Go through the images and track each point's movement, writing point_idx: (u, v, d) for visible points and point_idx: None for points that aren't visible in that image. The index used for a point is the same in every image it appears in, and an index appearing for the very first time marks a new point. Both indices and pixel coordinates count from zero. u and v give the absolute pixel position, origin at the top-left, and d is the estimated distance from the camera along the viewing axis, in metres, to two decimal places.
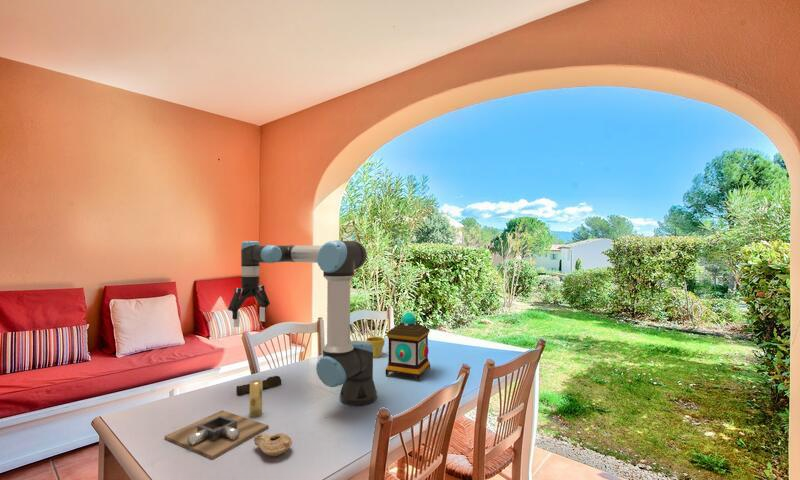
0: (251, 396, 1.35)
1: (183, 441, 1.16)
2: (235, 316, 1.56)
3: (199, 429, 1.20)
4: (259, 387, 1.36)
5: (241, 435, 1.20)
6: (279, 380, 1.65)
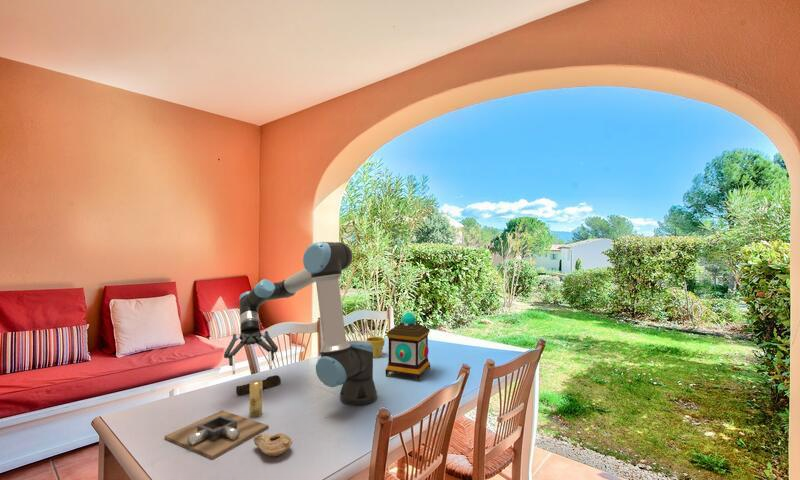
0: (251, 396, 1.35)
1: (183, 441, 1.16)
2: (230, 361, 1.44)
3: (199, 429, 1.20)
4: (259, 387, 1.36)
5: (241, 435, 1.20)
6: (278, 379, 1.66)
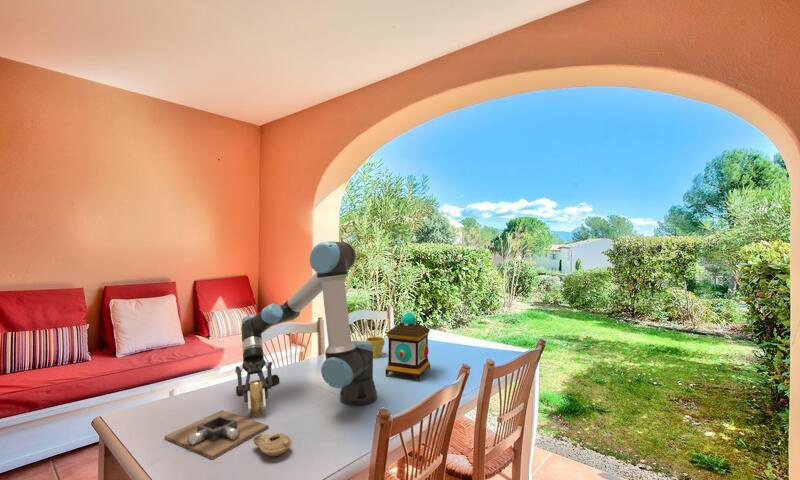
0: (251, 396, 1.35)
1: (183, 441, 1.16)
2: (245, 397, 1.34)
3: (199, 429, 1.20)
4: (259, 387, 1.36)
5: (241, 435, 1.20)
6: (277, 379, 1.67)
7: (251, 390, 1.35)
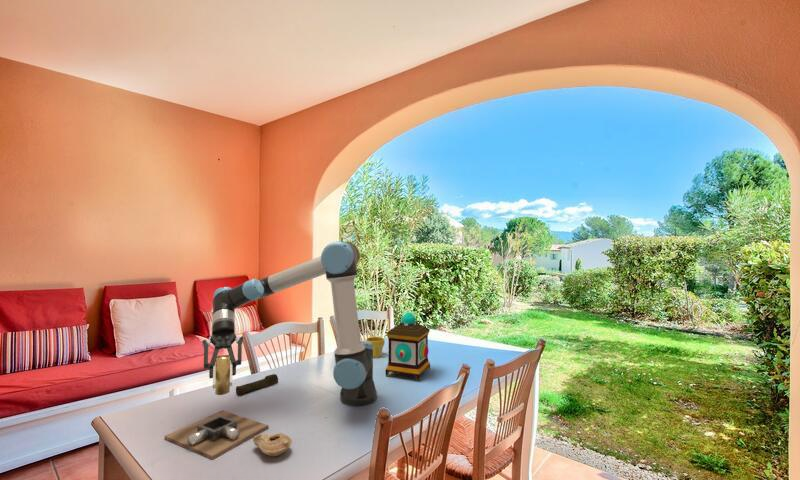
0: (217, 372, 1.23)
1: (183, 441, 1.16)
2: (210, 372, 1.23)
3: (199, 429, 1.20)
4: (226, 362, 1.24)
5: (241, 435, 1.20)
6: (276, 378, 1.68)
7: (217, 365, 1.23)
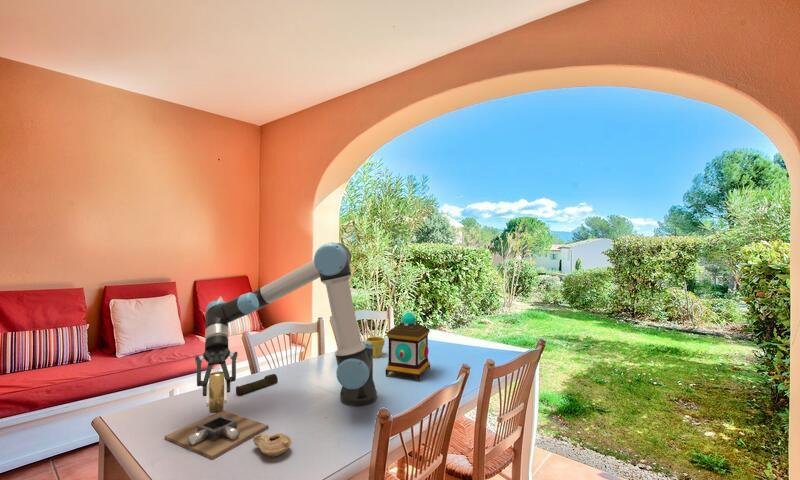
0: (211, 389, 1.20)
1: (183, 441, 1.16)
2: (204, 390, 1.19)
3: (199, 429, 1.20)
4: (220, 379, 1.21)
5: (241, 435, 1.20)
6: (276, 378, 1.68)
7: (211, 382, 1.20)
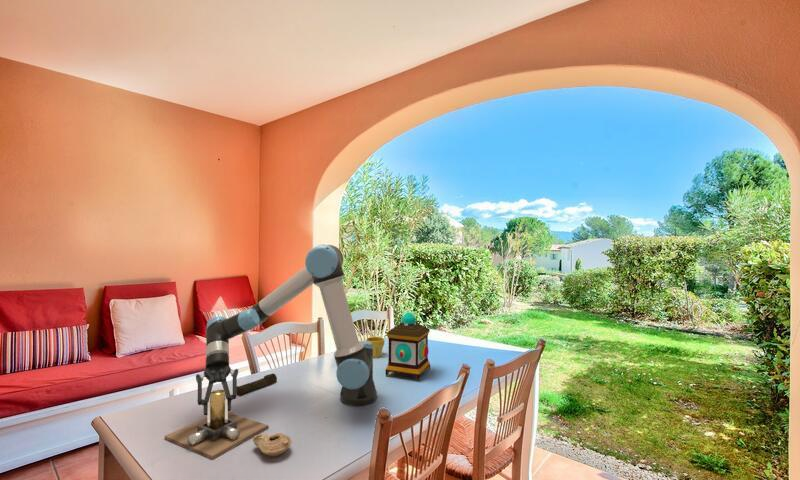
0: (212, 408, 1.20)
1: (183, 441, 1.16)
2: (205, 409, 1.19)
3: (199, 429, 1.20)
4: (221, 398, 1.21)
5: (241, 435, 1.20)
6: (275, 378, 1.68)
7: (211, 401, 1.20)
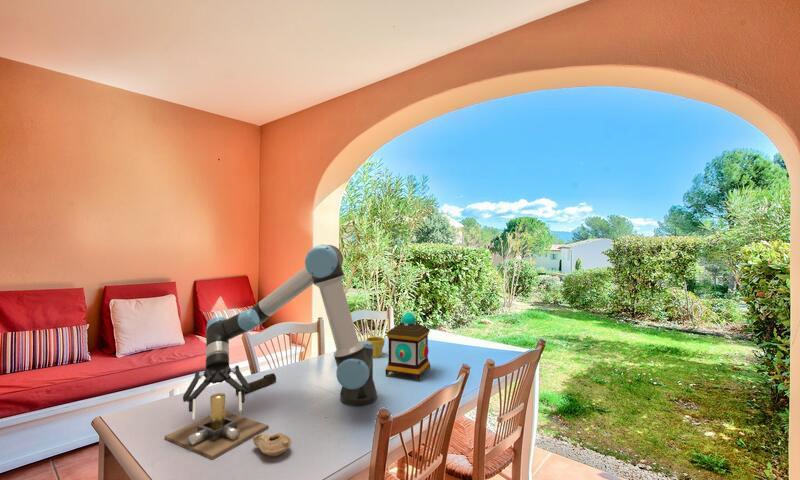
0: (212, 412, 1.20)
1: (183, 441, 1.16)
2: (190, 406, 1.19)
3: (199, 429, 1.20)
4: (221, 402, 1.21)
5: (241, 435, 1.20)
6: (274, 377, 1.68)
7: (212, 405, 1.20)
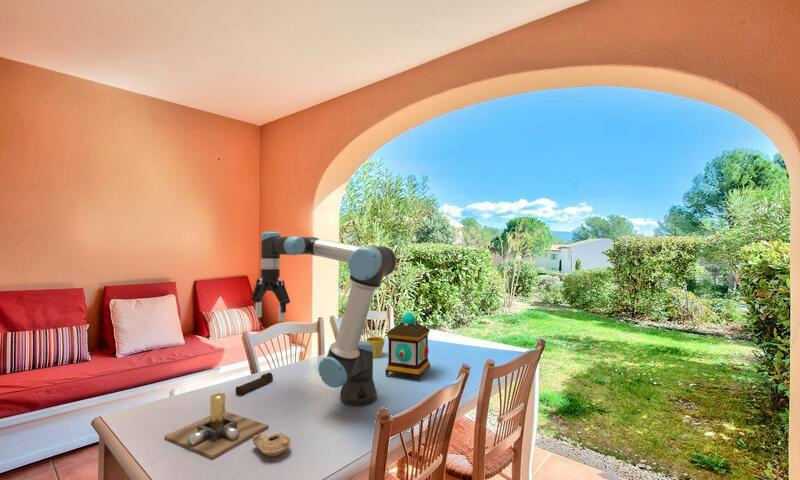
0: (212, 412, 1.20)
1: (183, 441, 1.16)
2: None
3: (199, 429, 1.20)
4: (221, 402, 1.21)
5: (241, 435, 1.20)
6: (271, 376, 1.70)
7: (212, 405, 1.20)
